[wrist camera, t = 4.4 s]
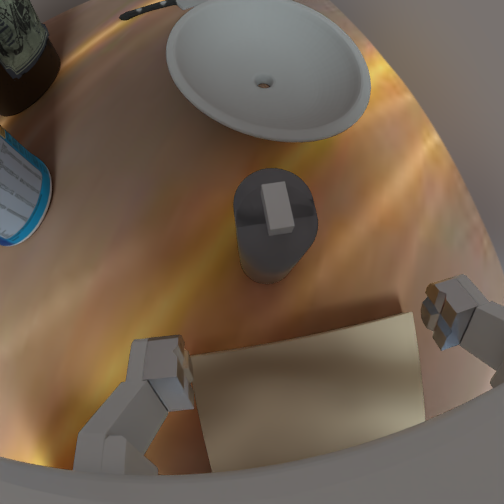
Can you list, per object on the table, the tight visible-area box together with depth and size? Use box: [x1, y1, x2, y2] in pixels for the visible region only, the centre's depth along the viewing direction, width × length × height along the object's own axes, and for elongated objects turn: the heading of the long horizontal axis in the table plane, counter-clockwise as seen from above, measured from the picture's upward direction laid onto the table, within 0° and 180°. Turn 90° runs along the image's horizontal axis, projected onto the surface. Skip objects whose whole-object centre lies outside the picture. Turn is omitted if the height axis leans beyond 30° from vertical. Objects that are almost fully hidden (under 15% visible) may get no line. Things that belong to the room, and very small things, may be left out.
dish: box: [166, 0, 371, 142], centre depth 23 cm, size 18×14×5 cm
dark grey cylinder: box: [233, 168, 318, 284], centre depth 18 cm, size 4×4×9 cm
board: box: [190, 312, 425, 473], centre depth 18 cm, size 20×15×2 cm
